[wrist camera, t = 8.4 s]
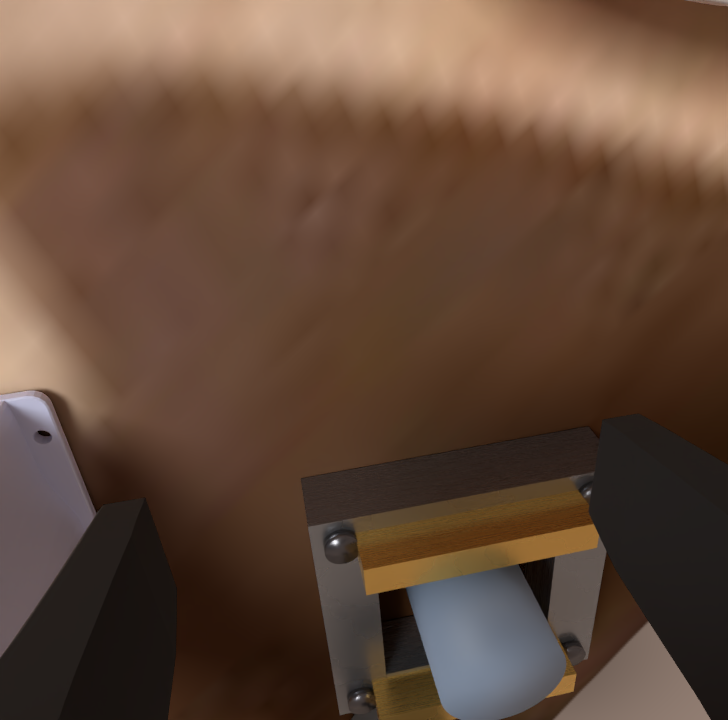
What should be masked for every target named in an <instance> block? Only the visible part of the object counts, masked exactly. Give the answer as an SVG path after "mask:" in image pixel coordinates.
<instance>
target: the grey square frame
mask: <svg viewBox="0 0 728 720" xmlns="http://www.w3.org/2000/svg"><path fill="white" fill-rule="evenodd" d="M598 446H599V439H598V438H597V436H596V435H595V434H594V433H593V431H592V430H591V429H590V428H589V426H587V427H582V428H576V429H571V430H565V431H560V432H554V433H549V434H543V435H538V436H532V437H527V438H521V439H516V440H510V441H505V442H499V443H494V444H488V445H483V446H477V447H472V448H466V449H461V450H455V451H450V452H444V453H439V454H433V455H428V456H422V457H417V458H411V459H406V460H401V461H395V462H390V463H384V464H379V465H373V466H368V467H362V468H357V469H351V470H346V471H340V472H335V473H329V474H324V475H318V476H313V477H307V478H302V479H301V483H302V490H303V496H304V503H305V510H306V516H307V523H308V529H309V535H310V541H311V547H312V553H313V559H314V565H315V571H316V577H317V582H318V588H319V594H320V600H321V606H322V612H323V618H324V624H325V630H326V636H327V642H328V648H329V654H330V660H331V666H332V672H333V678H334V684H335V689H336V695H337V701H338V707H339V713H340V715H343V714H347V713H354V714H365V713H368V712H370V711H372V710H374V709H375V708H376V710H377V715H378V720H453V719H457V718H455V717H453V716H452V715H450V714H449V713H448V712H446V710H445V709H444V708H443V706H442V704H441V701H440V698H439V695H438V691H437V688H436V685H435V682H434V678H433V675H432V672H431V669H430V665H429V662H428V659H427V655H426V652H425V649H424V646H423V642H422V639H421V636H420V633H419V629H418V626H417V623H416V620H415V616H409V617H405V618H400V619H395V620H390V621H386V622H381V616H380V605H379V595H378V593H381V592H385V591H390V590H395V589H400V588H405V587H410V586H415V585H419V584H424V583H429V582H434V581H439V580H444V579H448V578H453V577H458V576H463V575H468V574H473V573H478V572H482V571H487V570H492V569H497V568H502V567H507V566H511V565H516V564H521V563H525V574H524V577H525V579H526V581H527V583H528V585H529V586H530V588H531V590H532V592H533V594H534V596H535V598H536V600H537V602H538V604H539V606H540V608H541V610H542V612H543V614H544V616H545V618H546V620H547V622H548V624H549V626H550V628H551V630H552V631H553V633H554V635H555V637H556V639H557V641H558V643H559V645H560V647H561V649H562V651H563V653H564V655H565V658H566V670H565V673H564V676H563V678H562V679H561V681H560V683H559V684H558V685H557V687H556V688H555V689H554V690H553V691H552V692H551V693H550V694H549V695H548V696H547V697H552V696H556V695H560V694H564V693H569V692H573V691H574V685H575V679H576V672H575V670H574V668H573V666H574V665H577V664H578V663H580V662H581V661H582V660H585V659H588V653H589V648H590V642H591V636H592V631H593V625H594V619H595V614H596V608H597V602H598V597H599V591H600V585H601V579H602V574H603V568H604V562H605V557H606V549H605V547H604V545H603V543H602V541H601V539H600V537H599V534H598V532H597V530H596V528H595V526H594V523H593V521H592V519H591V517H590V515H589V512H588V510H589V504H590V497H591V491H592V485H593V478H594V472H595V465H596V459H597V453H598ZM547 697H546V698H547Z"/></svg>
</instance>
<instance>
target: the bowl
mask: <svg viewBox="0 0 728 720" xmlns="http://www.w3.org/2000/svg"><path fill="white" fill-rule="evenodd" d="M686 1H692V2H698V3H704V4H711V5H718V6H728V0H686Z"/></svg>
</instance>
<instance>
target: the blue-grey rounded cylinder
mask: <svg viewBox="0 0 728 720" xmlns="http://www.w3.org/2000/svg"><path fill="white" fill-rule="evenodd" d="M406 590H407V593H408V597H409V600H410V603H411V607H412V610H413V613H414V616H415V620H416V623H417V626H418V629H419V633H420V636H421V639H422V642H423V646H424V649H425V652H426V655H427V659H428V662H429V665H430V669H431V672H432V675H433V678H434V682H435V685H436V688H437V691H438V695H439V698H440V701H441V704H442V706H443V708H444V709H445V710H446V712H448V713H449V714H450V715H452V716H453V717H455V718H458V719H461V720H499V719H503V718H507V717H510V716H513V715H516V714H518V713H521V712H523V711H525V710H527V709H529V708H531V707H533V706H534V705H536V704H537V703H539V702H540V701H542V700H543V699H544V698H546V697H547V696H548V695H549V694H550V693H551V692H552V691H553V690H554V689H555V688H556V687H557V685H558V684H559V683H560V681H561V679H562V678H563V676H564V673H565V670H566V658H565V655H564V653H563V651H562V649H561V647H560V645H559V643H558V641H557V639H556V637H555V635H554V633H553V631H552V630H551V628H550V626H549V624H548V622H547V620H546V618H545V616H544V614H543V612H542V610H541V608H540V606H539V604H538V602H537V600H536V598H535V596H534V594H533V592H532V590H531V588H530V586H529V585H528V583H527V581H526V579H525V577H524V575H523V573H522V571H521V569H520V567H519V565H518V564H516V565H511V566H507V567H502V568H497V569H492V570H487V571H482V572H478V573H473V574H468V575H463V576H458V577H453V578H448V579H444V580H439V581H434V582H429V583H424V584H419V585H415V586H410V587H406Z"/></svg>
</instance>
